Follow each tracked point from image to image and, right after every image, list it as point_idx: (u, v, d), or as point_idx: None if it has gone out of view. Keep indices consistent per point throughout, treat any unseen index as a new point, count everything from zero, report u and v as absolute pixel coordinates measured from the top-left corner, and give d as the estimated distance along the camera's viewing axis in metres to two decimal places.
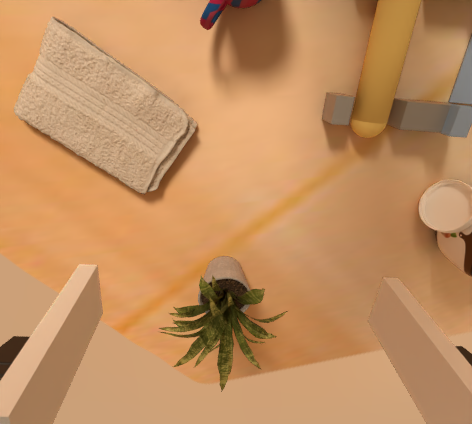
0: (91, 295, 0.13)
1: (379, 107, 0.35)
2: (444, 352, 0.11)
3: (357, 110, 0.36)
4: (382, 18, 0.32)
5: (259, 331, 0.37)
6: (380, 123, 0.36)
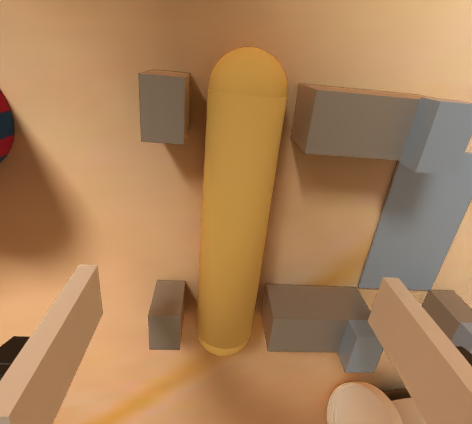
0: (91, 295, 0.13)
1: (225, 330, 0.21)
2: (444, 352, 0.11)
3: (198, 321, 0.22)
4: (206, 205, 0.18)
5: None
6: (233, 346, 0.22)
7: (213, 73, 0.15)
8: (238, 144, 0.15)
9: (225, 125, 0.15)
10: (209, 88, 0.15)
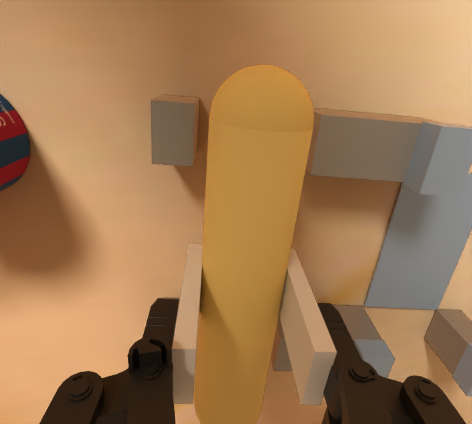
0: None
1: (229, 412, 0.16)
2: (302, 304, 0.13)
3: (196, 395, 0.18)
4: (207, 264, 0.14)
5: None
6: None
7: (216, 99, 0.11)
8: (249, 192, 0.11)
9: (232, 168, 0.11)
10: (211, 118, 0.12)
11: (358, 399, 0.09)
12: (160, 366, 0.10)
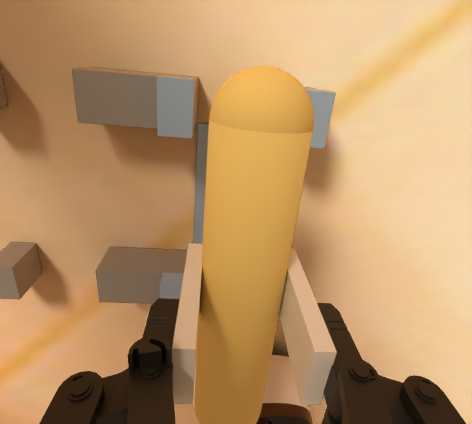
0: None
1: (229, 413, 0.16)
2: (302, 304, 0.13)
3: (196, 396, 0.18)
4: (207, 265, 0.14)
5: None
6: None
7: (216, 100, 0.11)
8: (250, 194, 0.11)
9: (232, 169, 0.11)
10: (211, 120, 0.12)
11: (358, 399, 0.09)
12: (160, 366, 0.10)
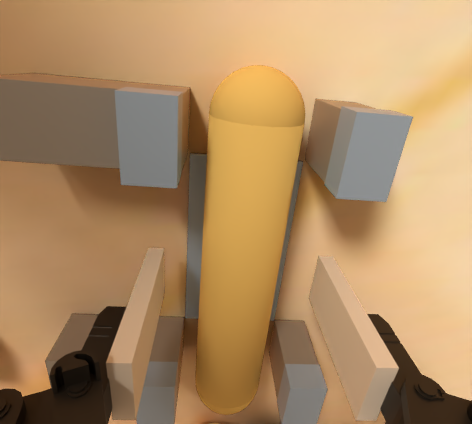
0: (161, 274, 0.15)
1: (228, 388, 0.18)
2: (354, 316, 0.12)
3: (197, 373, 0.19)
4: (207, 249, 0.15)
5: None
6: (237, 405, 0.19)
7: (215, 97, 0.12)
8: (246, 182, 0.13)
9: (230, 159, 0.12)
10: (210, 114, 0.13)
11: (423, 416, 0.09)
12: (89, 381, 0.09)
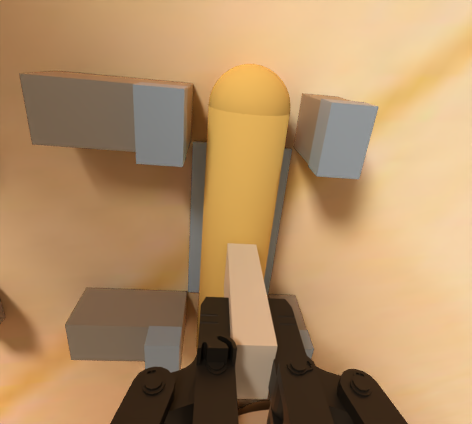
0: None
1: None
2: (253, 299, 0.13)
3: None
4: (206, 223, 0.17)
5: None
6: None
7: (214, 90, 0.15)
8: (239, 163, 0.15)
9: (225, 143, 0.15)
10: (209, 105, 0.15)
11: (297, 394, 0.09)
12: (225, 363, 0.10)
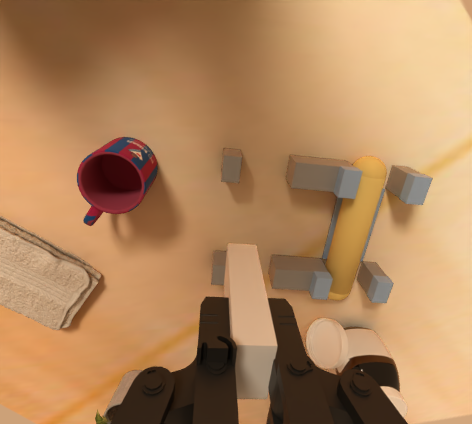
0: None
1: (335, 282, 0.42)
2: (253, 299, 0.13)
3: None
4: (339, 218, 0.40)
5: None
6: (338, 293, 0.42)
7: (353, 165, 0.37)
8: (358, 194, 0.37)
9: None
10: None
11: (297, 394, 0.09)
12: (225, 363, 0.10)
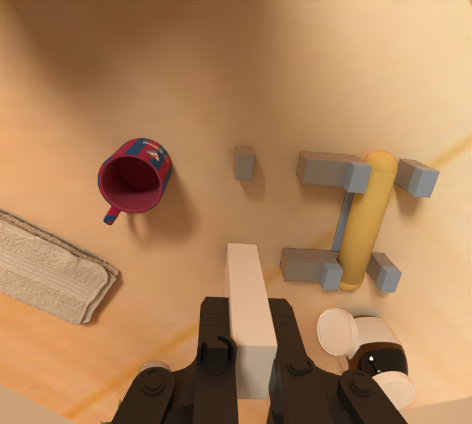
0: None
1: (351, 274, 0.43)
2: (253, 299, 0.13)
3: None
4: (353, 213, 0.41)
5: None
6: (353, 284, 0.44)
7: (366, 161, 0.38)
8: (373, 190, 0.38)
9: (369, 182, 0.38)
10: None
11: (297, 394, 0.09)
12: (225, 363, 0.10)
